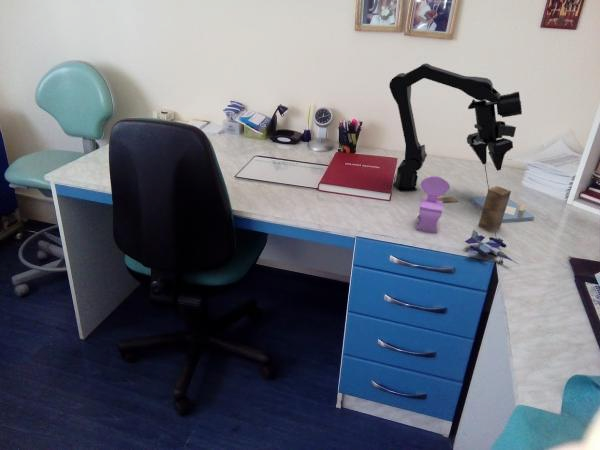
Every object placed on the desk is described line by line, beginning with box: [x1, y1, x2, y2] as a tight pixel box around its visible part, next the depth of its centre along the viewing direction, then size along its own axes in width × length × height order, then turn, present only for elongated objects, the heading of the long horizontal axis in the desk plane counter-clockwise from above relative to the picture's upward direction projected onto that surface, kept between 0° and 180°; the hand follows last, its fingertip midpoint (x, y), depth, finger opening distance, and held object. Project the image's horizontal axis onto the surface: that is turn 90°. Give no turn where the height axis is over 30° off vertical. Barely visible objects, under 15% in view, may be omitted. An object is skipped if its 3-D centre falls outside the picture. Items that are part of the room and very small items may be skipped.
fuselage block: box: [477, 185, 512, 233], centre depth 141 cm, size 5×5×12 cm
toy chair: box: [415, 175, 451, 234], centre depth 139 cm, size 8×9×15 cm
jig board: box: [470, 195, 535, 224], centre depth 154 cm, size 13×16×4 cm
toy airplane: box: [464, 229, 521, 265], centre depth 128 cm, size 13×14×4 cm
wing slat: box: [437, 196, 459, 204], centre depth 159 cm, size 9×3×1 cm, turn 104°
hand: (491, 167), depth 152 cm, fingers open, 9 cm apart
